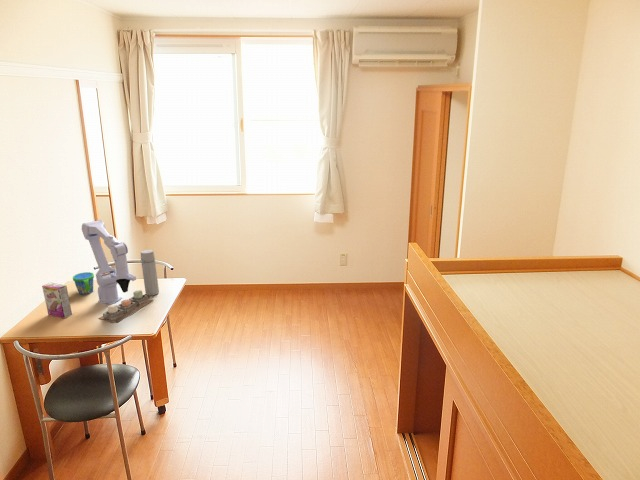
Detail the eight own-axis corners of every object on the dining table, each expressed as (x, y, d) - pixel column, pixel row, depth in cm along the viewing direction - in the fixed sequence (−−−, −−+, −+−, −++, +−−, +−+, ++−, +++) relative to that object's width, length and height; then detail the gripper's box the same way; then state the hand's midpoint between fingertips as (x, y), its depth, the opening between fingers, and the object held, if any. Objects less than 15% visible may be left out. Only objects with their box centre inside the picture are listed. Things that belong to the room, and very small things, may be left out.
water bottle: (162, 292, 254) (157, 250, 246) (150, 297, 247) (145, 254, 240) (151, 288, 258) (146, 247, 251) (140, 293, 252) (134, 251, 244)
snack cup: (98, 294, 251) (95, 278, 248) (77, 299, 246) (73, 282, 243) (94, 285, 264) (91, 269, 260) (74, 289, 258) (71, 273, 255)
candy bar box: (47, 315, 228) (41, 285, 223) (56, 311, 232) (50, 282, 227) (64, 318, 224) (58, 288, 219) (72, 314, 229) (67, 284, 224)
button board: (98, 318, 224) (97, 313, 223) (135, 297, 247) (134, 292, 246) (117, 322, 220) (116, 317, 219) (153, 300, 243) (152, 295, 242)
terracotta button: (120, 309, 232) (119, 302, 231) (126, 305, 236) (125, 299, 235) (127, 310, 230) (126, 303, 229) (133, 306, 234) (132, 300, 233)
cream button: (106, 314, 223) (105, 307, 222) (113, 310, 227) (112, 303, 226) (113, 315, 222) (112, 308, 221) (120, 312, 226) (119, 305, 225)
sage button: (132, 299, 240) (131, 293, 238) (138, 296, 243) (137, 290, 242) (139, 300, 238) (138, 294, 237) (144, 297, 242) (143, 291, 241)
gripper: (104, 268, 225) (108, 292, 230) (127, 271, 221) (131, 296, 225) (114, 263, 232) (118, 287, 236) (137, 266, 227) (140, 291, 231)
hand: (125, 291), depth 231 cm, fingers closed
